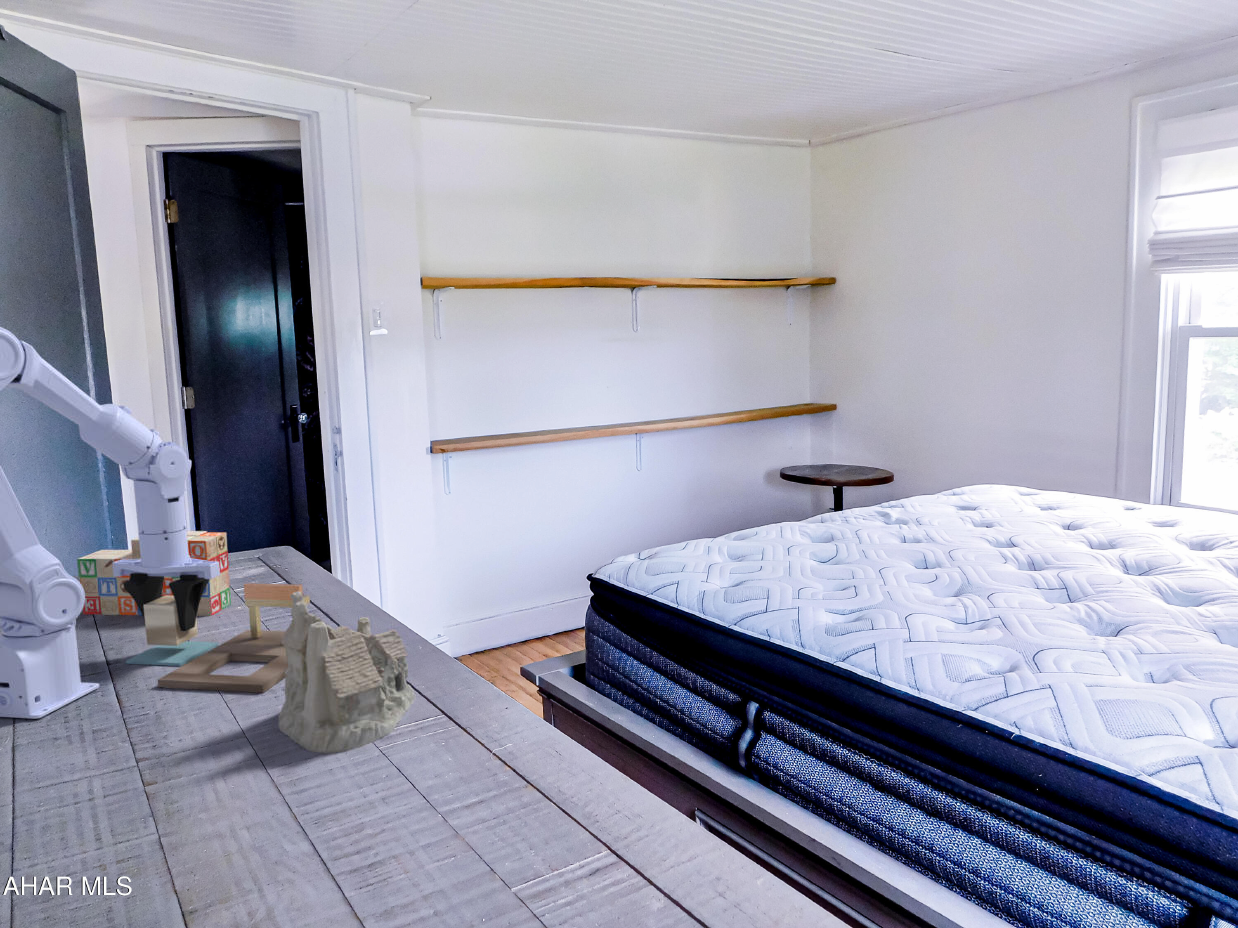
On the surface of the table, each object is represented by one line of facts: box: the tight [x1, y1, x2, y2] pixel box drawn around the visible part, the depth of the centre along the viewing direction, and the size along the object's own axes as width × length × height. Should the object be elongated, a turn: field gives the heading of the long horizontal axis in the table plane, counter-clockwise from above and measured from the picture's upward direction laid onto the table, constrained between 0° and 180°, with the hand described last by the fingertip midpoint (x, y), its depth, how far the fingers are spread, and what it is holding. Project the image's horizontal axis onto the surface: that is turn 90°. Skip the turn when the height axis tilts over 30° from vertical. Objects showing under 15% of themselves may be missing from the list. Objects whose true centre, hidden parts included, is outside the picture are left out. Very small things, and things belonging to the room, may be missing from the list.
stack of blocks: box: [76, 530, 232, 617], centre depth 138 cm, size 21×6×12 cm, turn 86°
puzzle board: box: [157, 629, 288, 694], centre depth 114 cm, size 19×14×1 cm
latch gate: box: [243, 582, 311, 637], centre depth 120 cm, size 2×8×8 cm, turn 81°
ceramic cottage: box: [278, 591, 417, 754], centre depth 97 cm, size 16×16×15 cm
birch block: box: [144, 596, 199, 646], centre depth 117 cm, size 4×4×6 cm
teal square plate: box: [125, 640, 219, 667], centre depth 118 cm, size 8×8×1 cm
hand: (171, 628), depth 118 cm, fingers closed on birch block, 4 cm apart
